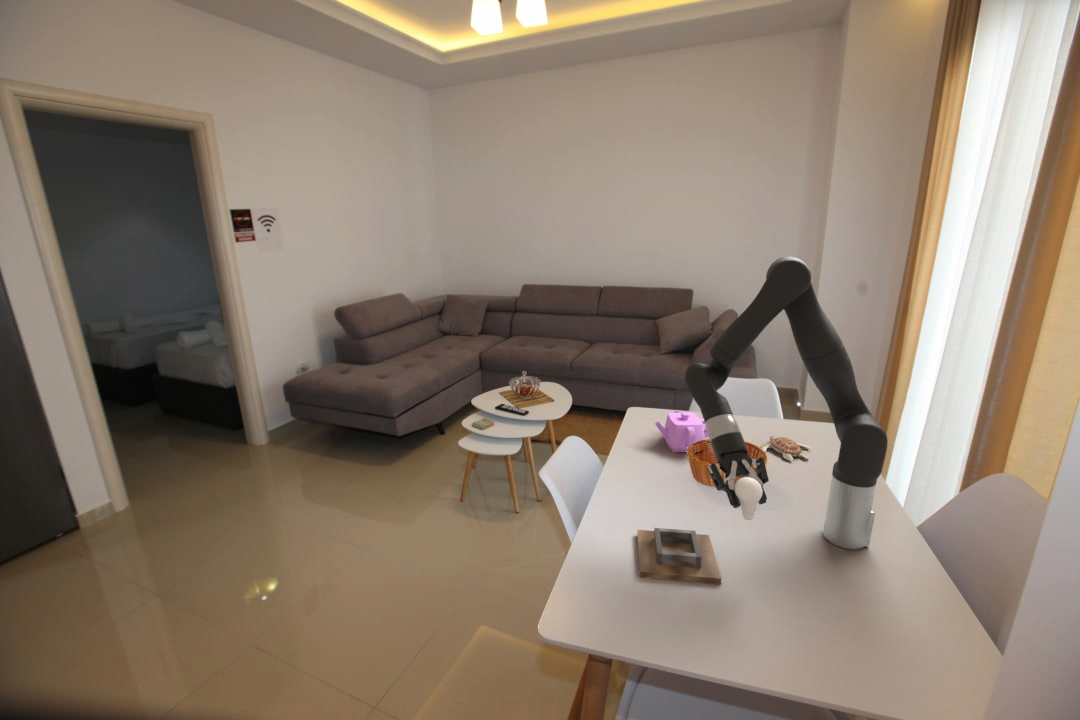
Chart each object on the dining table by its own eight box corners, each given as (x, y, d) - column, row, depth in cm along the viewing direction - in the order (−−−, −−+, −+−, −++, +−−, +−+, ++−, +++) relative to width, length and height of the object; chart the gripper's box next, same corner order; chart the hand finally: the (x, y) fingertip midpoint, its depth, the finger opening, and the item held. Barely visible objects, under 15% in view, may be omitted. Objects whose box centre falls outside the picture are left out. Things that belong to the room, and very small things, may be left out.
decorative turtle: (793, 440, 180) (794, 427, 178) (824, 460, 164) (826, 447, 163) (747, 444, 178) (748, 431, 176) (774, 465, 162) (776, 451, 160)
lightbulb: (765, 527, 110) (765, 486, 106) (736, 527, 111) (735, 487, 108) (759, 510, 115) (759, 471, 112) (732, 510, 117) (731, 472, 113)
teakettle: (693, 459, 166) (695, 426, 163) (650, 445, 178) (652, 414, 174) (715, 443, 178) (718, 412, 174) (674, 431, 189) (676, 401, 186)
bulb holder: (708, 540, 124) (709, 524, 123) (721, 584, 109) (722, 567, 108) (637, 534, 127) (637, 519, 126) (639, 577, 112) (640, 560, 110)
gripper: (704, 434, 114) (728, 505, 106) (759, 427, 117) (787, 497, 108) (692, 445, 121) (714, 513, 112) (744, 438, 123) (770, 505, 115)
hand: (750, 505), depth 110 cm, fingers closed on lightbulb, 6 cm apart
